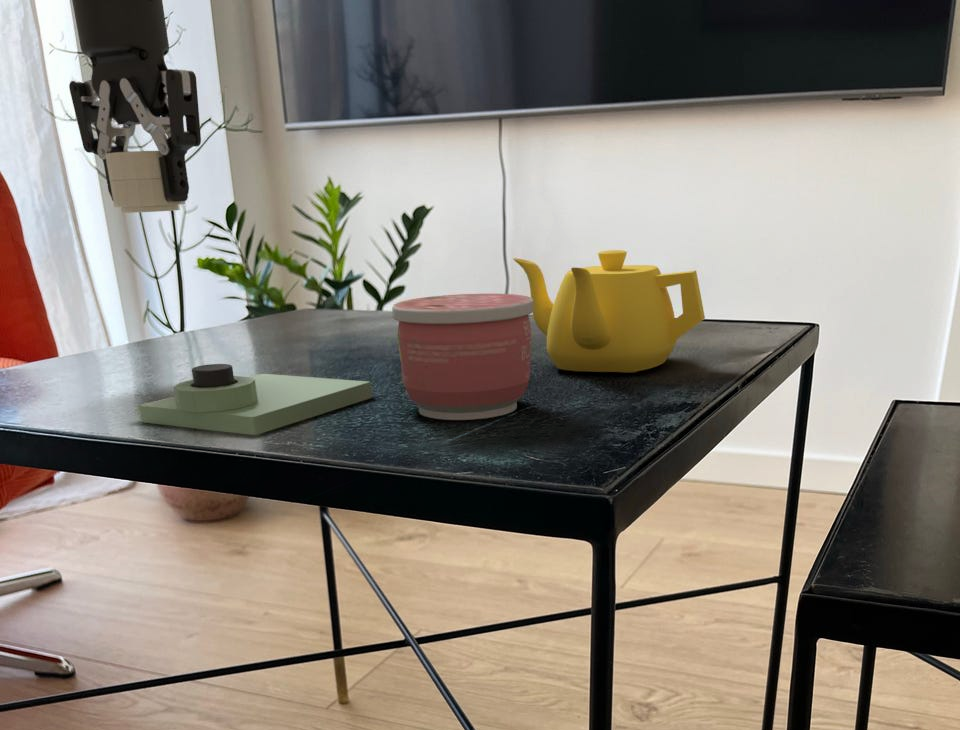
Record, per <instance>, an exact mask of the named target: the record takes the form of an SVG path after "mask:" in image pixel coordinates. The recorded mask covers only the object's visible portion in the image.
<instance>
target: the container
mask: <svg viewBox="0 0 960 730" xmlns="http://www.w3.org/2000/svg"><path fill="white" fill-rule="evenodd" d="M391 310H392V313H391V314H392V319H394V320H395V321H398V325H397V326H398V327H397V343H398V351H399V360H400V368H401V369H400V370H401V376H402V384H403V387H404V388H405V392H406V393H407V395H408V397H409V399H410V400H411V402H413V403H414V404H415V405H416V406H418V413H419V414H420V415H421V416H423V417H426V418H429V419H435V420H436V419H437V420H446V421H447V420H448V421H467V420H469V421H470V420H482V419H490V418H495V417H499V416H504V415H508V414H509V413H513V412H514V411H516V410H517V408H518V401H519V400H520V399H521V398H522V397H523V396H524V395H525V393H526V391H527V387H528V385H529V381H530V379H531V353H532V352H531V351H532V350H531V347H532V344H531V343H532V326H531V321H530V316H529V315H531V314H533V313H532V312H533V311H534V301H533V299H532V298H531V296H527V295H522V294H515V293H514V294H513V293H457V294H445V295H433V296H424V297H417V298H411V299H406V300H402V301H401V300H400V301H398V302H396V303H394V304H393V305H392V307H391Z"/></svg>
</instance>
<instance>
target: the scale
mask: <svg viewBox="0 0 960 730" xmlns="http://www.w3.org/2000/svg"><path fill="white" fill-rule="evenodd" d="M234 382H235V384H232V385H228V386H221V387H211V388H196V387H194V381H193V379H190V380H185V381H181V382H178V383H177V384H175V385H174V386H173V387H172V389H173V395H174V396H169V397H165V398H162V399H157V400H154V401H150V402H146V403H142V404H138V409H139V416H140V421H141V423H145V424H146V423H147V424H154V425H155V424H156V425H163V426H164V425H165V426H171V427H181V428H188V429H197V430H207V431H216V432H225V433H232V434H242V435H251V436H258V435H261V434H263V433H264V434H265V433H267V432H269V431H273V430H276V429H279V428H282V427H285V426H288V425H292V424H295V423H298V422H301V421H304V420H308V419H310V418H314V417H316V416H320V415H323V414H326V413H329V412H332V411H336V410H338V409H341V408H344V407H348V406H351V405H354V404H357V403H360V402H363V401H367V400H370V399H373V392H372V391H373V390H372V381H369V380H368V381H367V380H354V379H353V380H352V379H340V378H329V377H327V378H324V377H315V376H314V377H313V376H302V375H301V376H299V375H287V374H271V373H260V374H255V375H251V376H242V375H241V376H240V375H234Z"/></svg>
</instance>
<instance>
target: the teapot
mask: <svg viewBox="0 0 960 730" xmlns="http://www.w3.org/2000/svg"><path fill="white" fill-rule="evenodd" d="M627 253H628V251H626V250H623V249H621V250H620V249H609V250H601V251H599V252H598V253H597V255H598V259H599V262H600V265H593V266H585V267H571V268H570V270H568V271H567V272H566V273H565V274H564V276H563V278H562V280H561V283H560V285H559V288H558V291H557V294H556V297H555V298H554V302H552V300H551V298H550V297H549V293H548V290H547V286H546V281H545V280H546V279H545V276H544V274H543V272H542V270H541V268H540V266H539V265H538V264H537V263H535V262H534V261H530V260H526V259H521V258H518V257H517V258H516V257H515V258H514V257H513V258H512V260H513V261H514V262H515V263H517V265H519V266H520V267H521V268H522V269H523V271H524V273H525V274H526V277H527V279H528V283H529V285H528V286H529V291H530V292H529V293H530V298H532V299H533V301H534V311H533V312H532V313H531V314H532V318H533V320H534V322H535V325H536V326H537V327H538V329H539V330H540V331H541V333H543V334H544V335H545V336H546V351H547V353H548V355H549V358H550V359H551V361H552V363H553V364H554V366H555V367H556V368H557V369H559V370H563V371H572V372H591V373H595V372H596V373H623V374H625V373H626V374H630V373H637V372H639V371H640V372H641V371H646V370H649V369H653V368H655V367H658V366H660V365H663V364H664V363H665V362H666V361H667V359H668V358H669V357H670V355H671V353H672V352H673V350H674V348H675V346H676V344H677V340H678V339H679V338H681V337H682V336H684V335H685V334H687V333H688V332H689V331H691V330H692V329H693V328H694V327H695V326H697V325H698V324H699V323H701V322H702V321H704V320H705V318H706V317H705V309H704V305H703V300H702V295H701V290H700V284H699V279H698V274H697V270H688V271H679V272H670V273H661V270H660V269H659V267H658V266H657V265H650V264H649V265H648V264H642V265H641V264H628V265H627V264H626V265H625V260H626V257H627ZM677 285H679V286H680V296H681V307H682V314H680V315H679V316H678V317H676V316H675V311H674V308H673V302H672V300H671V297H670V293H669V290H668V287H672V286H677ZM675 317H676V318H675Z"/></svg>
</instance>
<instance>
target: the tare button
mask: <svg viewBox="0 0 960 730" xmlns="http://www.w3.org/2000/svg"><path fill="white" fill-rule="evenodd" d="M191 374H192V380H193V381H194V387H196V388H211V387H221V386H228V385H232V384H235V382H234V376H235V375H234V368H233V365H232V364H229V363H210V364H203V365H198V366H194V367H192V368H191Z"/></svg>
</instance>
